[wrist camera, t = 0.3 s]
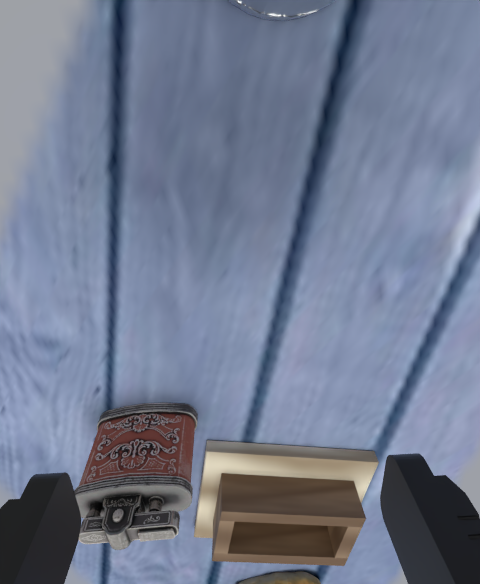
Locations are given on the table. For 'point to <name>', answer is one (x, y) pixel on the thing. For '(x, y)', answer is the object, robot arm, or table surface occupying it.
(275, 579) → the pastry
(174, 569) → the table surface
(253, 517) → the wooden box with base
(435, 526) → the robot arm
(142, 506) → the lighter
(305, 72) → the table surface
